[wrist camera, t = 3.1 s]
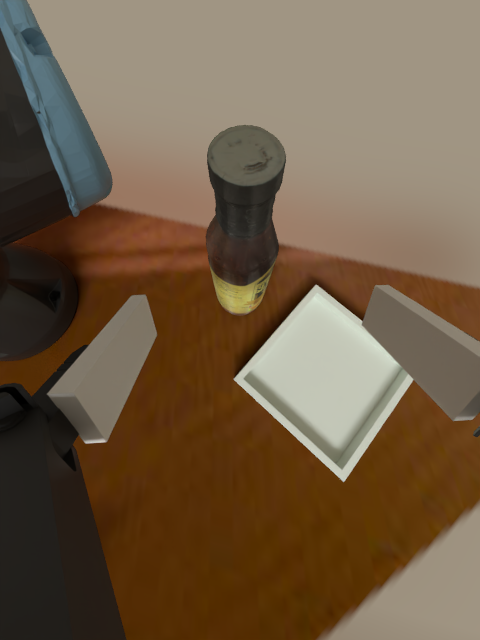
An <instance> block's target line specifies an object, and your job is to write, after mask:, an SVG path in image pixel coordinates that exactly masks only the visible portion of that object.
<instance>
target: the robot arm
mask: <svg viewBox="0 0 480 640" xmlns="http://www.w3.org/2000/svg"><path fill="white" fill-rule="evenodd" d="M111 188H112V176H111V172H110V170H109V168H108V165H107V163H106V161H105V158H104V156H103V154H102V152H101V149H100V147H99V146H98V143H97V141H96V139H95V137H94V135H93V132H92V131H91V128H90V126H89V124H88V122H87V120H86V118H85V116H84V114H83V112H82V110H81V108H80V106H79V104H78V102H77V100H76V98H75V96H74V94H73V91H72V89H71V88H70V85H69V84H68V81H67V79H66V78H65V76H64V74H63V72H62V70H61V68H60V66H59V64H58V62H57V60H56V59H55V57H54V56H53V54H52V51H51V48H50V46H49V44H48V43H47V41H46V39H45V37H44V35H43V33H42V31H41V29H40V27H39V25H38V23H37V21H36V18H35V16H34V14H33V12H32V10H31V8H30V6H29V4H28V2H27V0H0V361H15V360H21V359H25V358H28V357H31V356H34V355H36V354H38V353H40V352H42V351H44V350H45V349H47V348H48V347H50V346H51V345H52V344H53V343H55V342H56V341H57V340H58V339H59V338H60V337H61V336H62V335H63V333H64V332H65V331H66V329H67V328H68V326H69V325H70V323H71V321H72V319H73V317H74V314H75V311H76V307H77V301H78V291H77V285H76V282H75V279H74V277H73V275H72V273H71V272H70V270H69V269H68V268H67V267H66V266H65V265H64V264H63V263H61V262H60V261H58V260H57V259H55V258H54V257H52V256H50V255H48V254H47V253H45V252H43V251H41V250H38V249H36V248H33V247H29V246H25V245H21V244H17V243H13V242H14V241H17V240H19V239H21V238H23V237H25V236H27V235H30V234H32V233H34V232H36V231H38V230H40V229H43V228H45V227H47V226H49V225H51V224H53V223H56V222H58V221H60V220H62V219H64V218H66V217H68V216H71V215H72V216H73V217H77V216H78V215H79V214H80V211H82V210H84V209H86V208H88V207H90V206H91V205H93V204H95V203H97V202H99V201H101V200H103V199H104V198H106V197H107V196H108V195H109V193H110V192H111ZM362 326H363V327H364V328H365V329H366V330H367V331H368V332H369V333H370V334H371V335H372V336H373V338H374V339H375V340H376V341H377V342H378V343H379V344H380V345H381V346H382V347H383V348H384V349H385V350H386V351H387V352H388V353H389V354H390V355H391V356H392V357H393V358H394V360H395V361H396V362H397V363H398V364H399V365H400V366H401V367H402V368H403V369H404V370H405V371H406V372H407V373H408V374H409V375H410V376H411V377H412V378H413V379H414V380H415V381H416V383H417V384H418V385H419V386H420V387H421V388H422V389H423V390H424V391H425V392H426V393H427V394H428V395H429V396H430V397H431V398H432V399H433V400H434V401H435V402H436V403H437V405H438V406H439V407H440V408H441V409H442V410H443V411H444V412H445V413H446V414H447V415H448V416H449V417H450V418H451V419H452V420H453V421H458V420H472V419H473V418H474V417H475V416H476V415H477V414H478V413H479V412H480V342H479V341H478V340H477V339H475V338H473V337H472V336H470V335H469V334H467V333H465V332H463V331H461V330H459V329H458V328H456V327H455V326H453V325H451V324H450V323H448V322H447V321H445V320H443V319H442V318H440V317H439V316H437V315H435V314H434V313H432V312H431V311H429V310H427V309H426V308H424V307H423V306H421V305H419V304H418V303H416V302H415V301H413V300H411V299H410V298H408V297H407V296H405V295H403V294H402V293H400V292H399V291H397V290H395V289H394V288H392V287H391V286H389V285H375V287H374V290H373V293H372V296H371V299H370V302H369V305H368V308H367V311H366V313H365V316H364V319H363V322H362ZM156 336H157V332H156V329H155V325H154V322H153V318H152V315H151V311H150V308H149V304H148V301H147V297H146V295H132V296H131V297H130V298H129V299H128V301H127V302H126V303H125V304H124V305H123V306H122V308H121V309H120V310H119V311H118V312H117V313H116V315H115V316H114V317H113V318H112V319H111V320H110V321H109V323H108V324H107V325H106V326H105V327H104V328H103V330H102V331H101V332H100V333H99V334H98V335H97V337H96V338H95V339H94V340H93V341H92V342H91V344H90V345H84V346H82V347H81V348H79V349H78V350H76V351H75V352H73V353H72V354H71V355H70V356H69V357H68V358H67V359H66V360H65V361H64V364H62V365H61V366H60V367H59V368H58V369H57V372H54V373H53V375H52V376H51V377H50V378H49V379H48V380H47V381H46V382H45V383H44V384H43V385H42V386H41V388H40V389H39V390H38V391H37V392H36V393H35V394H34V395H33V396H32V397H31V396H30V394H29V393H28V392H27V391H26V390H25V389H24V387H23V386H22V385H21V384H16V383H11V384H4V385H1V386H0V640H126V637H125V633H124V629H123V625H122V622H121V618H120V614H119V610H118V606H117V603H116V599H115V595H114V591H113V588H112V584H111V580H110V576H109V572H108V569H107V565H106V561H105V557H104V554H103V550H102V546H101V542H100V538H99V535H98V531H97V527H96V523H95V520H94V516H93V512H92V508H91V504H90V501H89V497H88V493H87V489H86V486H85V482H84V478H83V474H82V470H81V467H80V463H79V459H78V455H77V452H76V449H75V448H74V446H73V443H74V441H75V440H76V438H77V436H78V435H79V436H80V437H81V438H82V440H83V441H84V442H85V443H100V442H107V440H108V438H109V436H110V434H111V432H112V430H113V428H114V426H115V423H116V421H117V419H118V417H119V415H120V413H121V411H122V408H123V406H124V404H125V402H126V400H127V398H128V396H129V394H130V391H131V389H132V387H133V385H134V383H135V381H136V379H137V377H138V374H139V372H140V370H141V368H142V366H143V364H144V362H145V359H146V357H147V355H148V353H149V351H150V349H151V347H152V345H153V342H154V340H155V338H156ZM479 435H480V426H479V427H478V428H477V429H476V430H475V431H474V434H473V436H475V437H478V436H479Z"/></svg>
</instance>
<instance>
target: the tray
mask: <svg viewBox="0 0 480 640" xmlns="http://www.w3.org/2000/svg"><path fill="white" fill-rule="evenodd" d="M362 322H363V321H361V320H360V319H359V318H358V317H356V316H355V315H354V314H353V313H351V312H350V311H349V310H348V309H346V308H345V307H344V306H343V305H341V304H340V303H339V302H338V301H336V300H335V299H334V298H333V297H331V296H330V295H329V294H328V293H326V292H325V291H324V290H323V289H321V288H320V287H319V286H318V285H315V286H314V287H313V288H312V289H311V290H310V291H309V292H308V293H307V295H306V296H305V297H304V298H303V299H302V300H301V302H300V303H299V304H298V305H297V306H296V307H295V308H294V310H293V311H292V312H291V313H290V314H289V315H288V316H287V318H286V319H285V320H284V321H283V322H282V323H281V325H280V326H279V327H278V328H277V329H276V330H275V331H274V333H273V334H272V335H271V336H270V337H269V338H268V340H267V341H266V342H265V343H264V344H263V345H262V346H261V348H260V349H259V350H258V351H257V352H256V353H255V354H254V356H253V357H252V358H251V359H250V360H249V361H248V363H247V364H246V365H245V366H244V367H243V368H242V369H241V371H240V372H239V373H238V374H237V375H236V376H235V377H234V380H235V381H236V382H237V383H238V384H239V385H240V386H241V387H242V388H243V389H244V390H246V391H247V392H248V393H249V394H250V395H251V396H252V397H253V398H254V399H255V400H256V401H257V402H258V403H260V404H261V405H262V406H263V407H264V408H265V409H266V410H267V411H268V412H269V413H270V414H271V415H272V416H274V417H275V418H276V419H277V420H278V421H279V422H280V423H281V424H282V425H283V426H284V427H285V428H286V429H287V430H289V431H290V432H291V433H292V434H293V435H294V436H295V437H296V438H297V439H298V440H299V441H300V442H301V443H303V444H304V445H305V446H306V447H307V448H308V449H309V450H310V451H311V452H312V453H313V454H314V455H315V456H316V457H318V458H319V459H320V460H321V461H322V462H323V463H324V464H325V465H326V466H327V467H328V468H329V469H330V470H332V471H333V472H334V473H335V474H336V475H337V476H338V477H339V478H340V479H341V480H342V481H343V482H344V481H345V480H346V478H347V477H348V475H349V474H350V472H351V471H352V469H353V468H354V466H355V465H356V463H357V462H358V461H359V459H360V458H361V456H362V455H363V453H364V452H365V450H366V449H367V447H368V446H369V444H370V443H371V441H372V440H373V438H374V437H375V436H376V434H377V433H378V431H379V430H380V428H381V427H382V425H383V424H384V422H385V421H386V419H387V418H388V416H389V415H390V413H391V412H392V411H393V409H394V408H395V406H396V405H397V403H398V402H399V400H400V399H401V397H402V396H403V394H404V393H405V391H406V390H407V388H408V387H409V386H410V384H411V383H412V381H413V380H414V379H413V378H412V377H411V376H410V375H409V374H408V373H407V372H406V371H405V370H404V369H403V368H402V367H401V366H400V365H399V364H398V363H397V362H396V361H395V360H394V358H393V357H392V356H391V355H390V354H389V353H388V352H387V351H386V350H385V349H384V348H383V347H382V346H381V345H380V344H379V343H378V342H377V341H376V340H375V339H374V338H373V336H372V335H371V334H370V333H369V332H368V331H367V330H366V329H365V328H364V327H363V326H362Z"/></svg>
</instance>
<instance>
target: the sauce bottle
mask: <svg viewBox="0 0 480 640" xmlns="http://www.w3.org/2000/svg"><path fill="white" fill-rule="evenodd" d="M207 158H208V159H207V163H208V170H209V177H210V182H211V184H212V187H213V189H214V192H215V199H216V209H215V211H216V215H215V217H214V218H213V220H212V221H211V223H210V225H209V227H208V230H207V234H206V246H207V251H208V254H209V255H208V259H209V265H210V269H211V273H212V277H213V282H214V286H215V290H216V294H217V297H218V300H219V302H220V304H221V305H222V307H223V308H224V309H225V310H226V311H228V312H229V313H232V314H234V315H246V314H249V313H250V312H253V311H254V310H255V309H256V307H257V306H258V305H259V304H260V303H261V301H262V298H263V295H264V293H265V290H266V287H267V285H268V281H269V279H270V276H271V273H272V270H273V267H274V264H275V261H276V258H277V255H278V250H279V245H278V240H277V236H276V232H275V228H274V225H273V221H272V212H273V209H272V208H273V204H274V201H275V194H276V193H277V191H278V190H279V188H280V186H281V183H282V178H283V173H284V167H285V163H286V155H285V151H284V148H283V146H282V144H281V143H280V142H279V140H278V139H277V138H276V137H275V136H274V135H272V134H271V133H269V132H268V131H266V130H264V129H262V128H260V127H257V126H252V125H250V126H248V125H242V126H235V127H231V128H228V129H227V130H225V131H223V132H221V133H219V134H218V135H217V136H216V137H215V138H214V139H213V140H212V142H211V144H210V146H209V148H208V154H207Z"/></svg>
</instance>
